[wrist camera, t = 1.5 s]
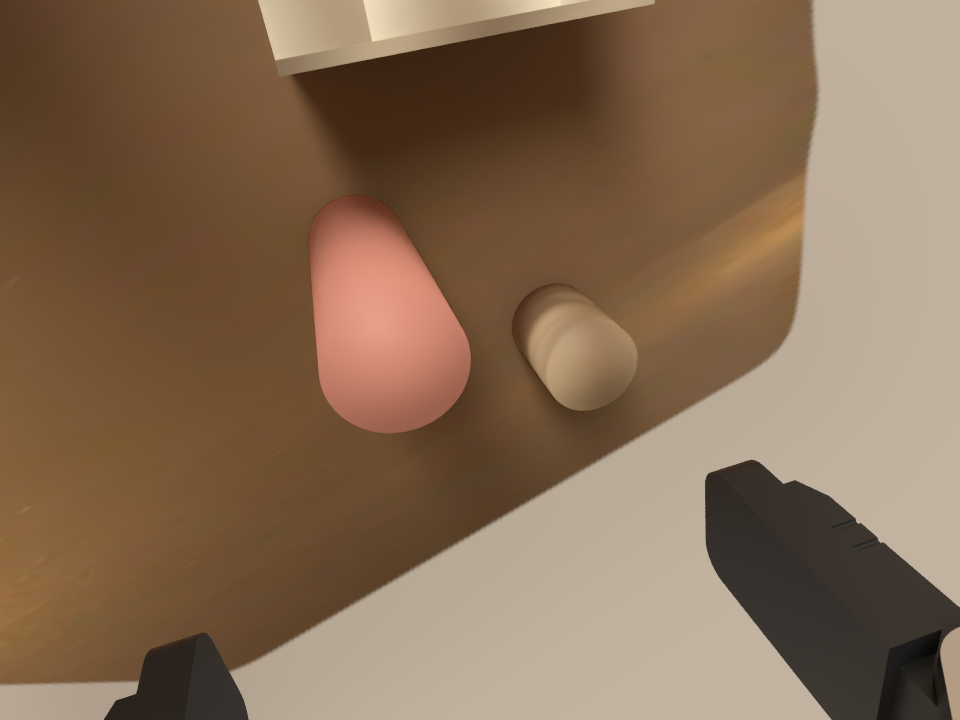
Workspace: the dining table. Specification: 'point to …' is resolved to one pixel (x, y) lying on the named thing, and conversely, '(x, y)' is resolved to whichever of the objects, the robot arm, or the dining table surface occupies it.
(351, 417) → the long dowel
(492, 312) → the dining table surface
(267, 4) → the hole block
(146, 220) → the dining table surface
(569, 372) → the short dowel
